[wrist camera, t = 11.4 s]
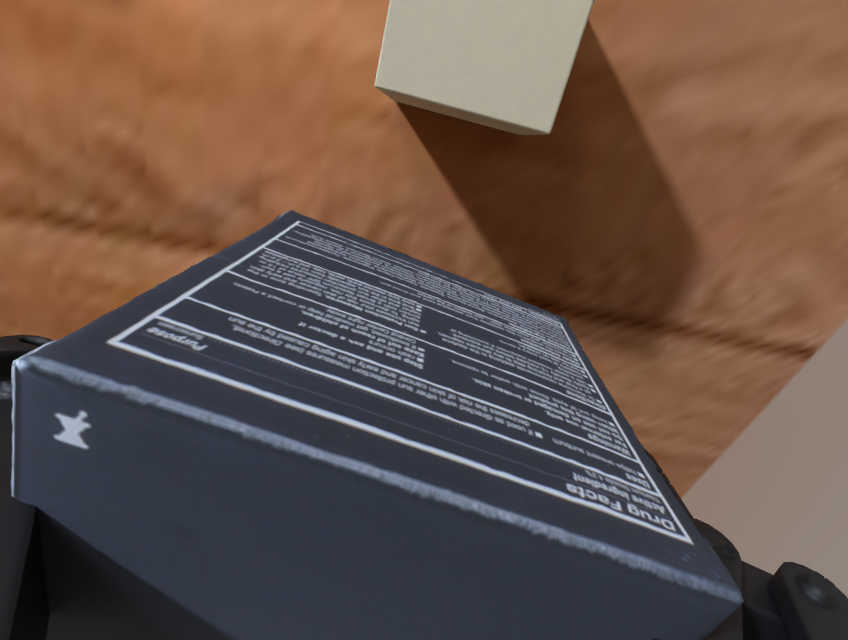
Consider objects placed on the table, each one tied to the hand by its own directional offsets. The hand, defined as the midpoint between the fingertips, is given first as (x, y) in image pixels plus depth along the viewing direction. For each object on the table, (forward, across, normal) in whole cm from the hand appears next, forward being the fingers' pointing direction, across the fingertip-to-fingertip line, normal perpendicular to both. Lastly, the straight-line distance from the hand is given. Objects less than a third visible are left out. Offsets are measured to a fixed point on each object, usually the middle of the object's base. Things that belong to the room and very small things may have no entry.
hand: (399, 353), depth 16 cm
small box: (+1, 0, 0) cm, 1 cm away
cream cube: (+8, 0, +11) cm, 14 cm away
